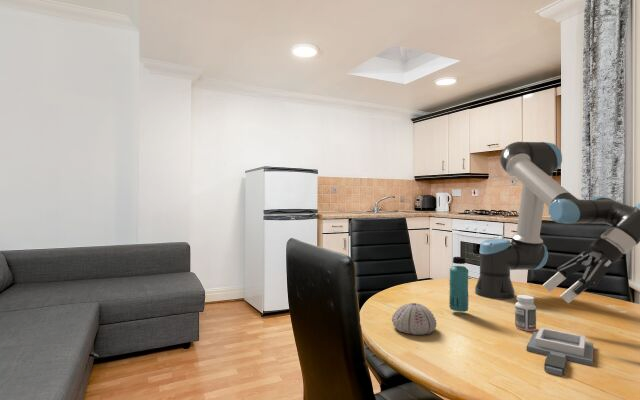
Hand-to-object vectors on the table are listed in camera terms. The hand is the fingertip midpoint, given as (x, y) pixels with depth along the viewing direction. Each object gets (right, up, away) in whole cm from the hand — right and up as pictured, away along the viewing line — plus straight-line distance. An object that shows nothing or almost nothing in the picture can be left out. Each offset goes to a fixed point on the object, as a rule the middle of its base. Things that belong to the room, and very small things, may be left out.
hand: (554, 293), depth 110 cm
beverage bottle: (-23, -12, +17) cm, 31 cm away
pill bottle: (-7, -12, +3) cm, 14 cm away
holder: (-10, -12, -17) cm, 23 cm away
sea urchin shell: (-43, -12, +1) cm, 44 cm away
